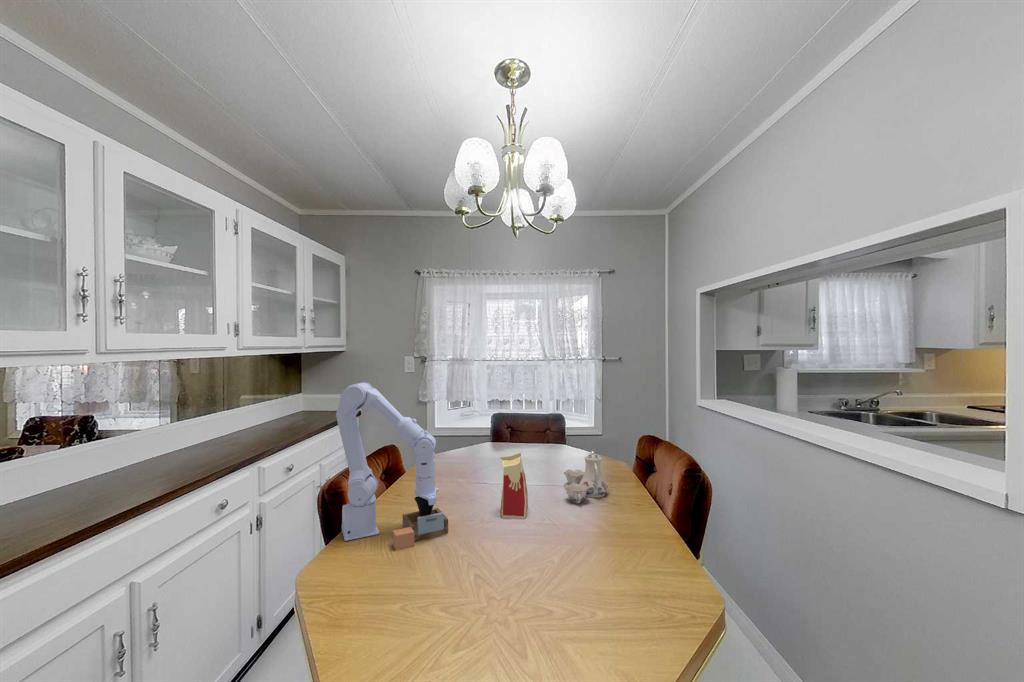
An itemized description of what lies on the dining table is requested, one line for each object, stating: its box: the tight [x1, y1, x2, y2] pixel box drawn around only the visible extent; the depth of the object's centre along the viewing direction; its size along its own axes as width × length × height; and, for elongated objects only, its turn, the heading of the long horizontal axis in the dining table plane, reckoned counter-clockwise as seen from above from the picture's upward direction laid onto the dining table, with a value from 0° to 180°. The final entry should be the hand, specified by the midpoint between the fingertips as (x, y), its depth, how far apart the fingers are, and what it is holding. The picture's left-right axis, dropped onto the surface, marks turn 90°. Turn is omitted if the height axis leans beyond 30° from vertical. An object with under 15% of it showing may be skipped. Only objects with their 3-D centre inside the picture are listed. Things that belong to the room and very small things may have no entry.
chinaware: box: [563, 450, 609, 504], centre depth 153 cm, size 28×17×17 cm, turn 178°
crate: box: [402, 507, 449, 541], centre depth 121 cm, size 11×11×4 cm
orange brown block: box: [392, 527, 415, 551], centre depth 112 cm, size 5×4×4 cm
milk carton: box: [499, 452, 529, 520], centre depth 134 cm, size 9×9×20 cm
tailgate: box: [417, 511, 445, 535], centre depth 116 cm, size 8×1×5 cm, turn 119°
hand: (425, 521), depth 121 cm, fingers closed
